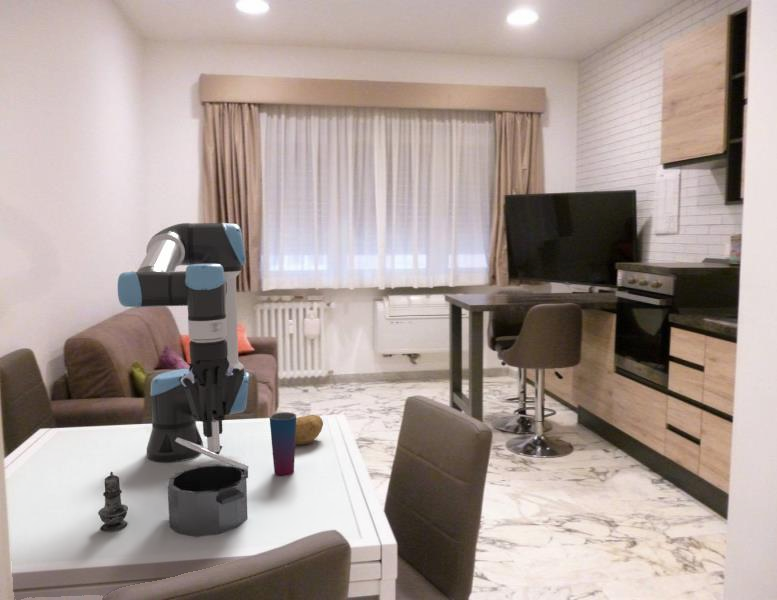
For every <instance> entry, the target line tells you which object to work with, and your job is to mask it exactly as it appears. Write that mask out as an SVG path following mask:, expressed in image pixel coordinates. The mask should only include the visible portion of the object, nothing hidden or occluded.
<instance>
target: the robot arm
mask: <svg viewBox="0 0 777 600" xmlns="http://www.w3.org/2000/svg"><path fill="white" fill-rule="evenodd" d="M242 234H243V233H242V229H241V227H240V226H239V225H238V224H237V223H229V222H228V223H227V222H211V223H210V222H208V223H207V222H201V223H200V222H199V223H198V222H197V223H196V222H195V223H194V222H193V223H191V222H190V223H189V222H183V223H177V224H174V225H171V226H168V227H166V228H163V229H161V230H160V231H158V232H157V233H155V234H154V235H153V236H152V237H151V238H150V239H149V241H148V243H147V245H146V249H145V251H146V253H145V256H144V257H143V258H144V259H143V260H142V262H141V264H140V266H139V267H138V269H137V271H132V270H131V271H126V272H122V273H120V274H119V276H118V279H117V297H118V301H119V304H120V305H121V306H123V307H125V308H128V307H129V308H138V309H139V308H152V307H153V308H154V307H181V306H182V307H183V306H184V307H187V327H188V331H187V332H188V339H190V340H191V341H190V342H189V343H188V346H189V347H188V348H189V349H188V350H189V360H190V365H189V368H181V369H174V370H169V371H166V372H162V373H160V374H158V375H156V376H155V377H153V378H152V380H151V382H150V393H149V395H150V404H151V406H150V407H151V425H152V426H151V427H152V428H151V433H150V436H149V439H148V442H147V446H146V458H147V459H148V460H150V461H152V462H156V463H157V462H158V463H174V462H182V461H186V460H191V459H193V458H196V457H197V456H199V455H201V454H202V453H199V452H197V451H195V450H192V449H190V448H188V447H186V446H183V445H181V444H179V443H177V442H176V441H175V440H176V438H177V437H178V438H181V439H184V440H187V441H190V442H192V443H195V444H197V445H200V446H203V447H204V442H203V439H202V437H201V434H200V432H199V429H198V427H197V421H199V422H202V432H203V433H202V434H203V436H204V437H206V438H207V439H206V441H207V448H208V450H210V451H212V452H214V453H215V452H219V451H220V446H221V443H220V441H221V440H220V438H221V437H220V435H221V434H223V421H224V420H225V418H226V416H230V415H234V414H240V413H244V411H245V410H246V408H247V403H248V402H247V401H248V392H249V383H250V382H249V380H250V373H249V372H248V371H245V366H244V364H243V363H242V362H240V361H239V342H238V339H239V337H238V334H239V333H238V314H237V313H238V308H237V307H238V306H237V304H238V302H237V277H238V276H239V274H241V272H242V266H246V264H247V260H246V259H247V258H246V253H245V251H246V250H245V247H244V239H243V235H242ZM178 266H186V267H185V271H183V270H181V271H176V268H177V267H178ZM220 452H221V451H220Z"/></svg>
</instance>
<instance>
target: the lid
mask: <svg viewBox="0 0 777 600" xmlns="http://www.w3.org/2000/svg"><path fill="white" fill-rule="evenodd" d="M175 441H176V442H177V443H179V444H181V445H183V446H186V447H188V448H190V449H192V450H195V451H197V452H199V453H201V454H202V455H204V456H206V457H210V458H212V459H215V460H217V461H220V462H222V463H224V464H226V465H232V466H235V467H238V468H241V469H244V470H248V471H249V465H247V464H245V463H242V462H241V461H238V460H236V459H235V458H231V457H230V456H227V455H224V454H222V453H221V450H222V448H223V446H222V445H220V451H219V452H215V453H214V452H212V451H210V450H208V447H205V446H204V445H203V446H200V445H197V444H195V443H192V442H190V441H187V440H184V439H181V438H178V437H177V438H176V440H175Z"/></svg>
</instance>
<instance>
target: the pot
mask: <svg viewBox="0 0 777 600" xmlns="http://www.w3.org/2000/svg"><path fill="white" fill-rule="evenodd" d="M168 479H169V480H168V483H167V496H168V497H167V498H168V499H167V501H168V502H167V503H168V522H169V524H168V527H169V528H170V529H171V530H173V531H174V532H176V533H177V534H178V535H183V536H193V537H203V536H212V535H213V536H214V535H219V534H222V533H225V532H228V531H230V530H233V529H236V528H238V527H240V525H241V524H242V523H243V522H245V521H246V520H247V518H248V490H247V489H248V488H247V486H248V485H247V482H248V481H247V479H249V469H248V470H244V469H241V468H238V467H235V466H232V465H229V464H221V463H217V464H216V463H214V464H206V465H198V466H194V467H191V468H187V469H184V470H180V471H177V472H175V473H174V475H173V476H171V477H169V478H168Z"/></svg>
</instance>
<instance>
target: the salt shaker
mask: <svg viewBox="0 0 777 600" xmlns="http://www.w3.org/2000/svg"><path fill="white" fill-rule="evenodd" d="M109 474H110V475H108V476H106V477H105V478H104V482H103V483H104V492H103V493H102V496H103V497H104V506H103V507H102V508H100V509H99V510H98V512H97V515H98V516H99V519H100V520H101V522H102V523H104V524H102V525H101V526H100V528H99V529H100V531H101V532H103V533H114V532H118V531H121V530H124V529H125V528H126V527H127V526H128V525H129V524H128V521H127V520H124V519H125V518H126V516H127V514H128V510H129V506H128V505H126V504H124V503H123V504H122V498H121V494H122V493H123V491H122V490H121V489H120V485H121V484H120V476H118V475H115V474H114V472H113V471H110V472H109Z"/></svg>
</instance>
